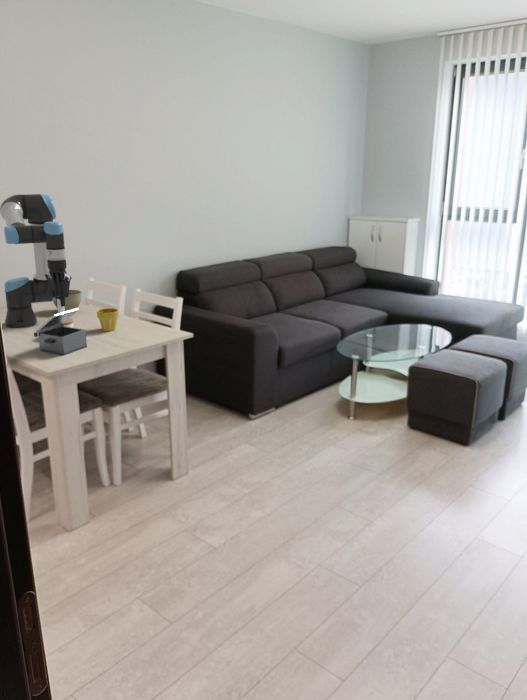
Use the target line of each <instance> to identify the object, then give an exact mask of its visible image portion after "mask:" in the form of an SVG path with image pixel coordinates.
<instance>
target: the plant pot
mask: <svg viewBox="0 0 527 700" xmlns="http://www.w3.org/2000/svg"><path fill="white" fill-rule="evenodd" d="M119 311H120V310H119V309H117V308H115V307H105V308H100V309H99V308H98V309H97V310H96V315H97V318H98V320H99V324H100V327H101V329H102V331H104V332H111V331H112V332H113V331H115V330H116V329H117V325H118V318H119V317H120V312H119Z"/></svg>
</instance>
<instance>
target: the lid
mask: <svg viewBox="0 0 527 700" xmlns="http://www.w3.org/2000/svg"><path fill="white" fill-rule="evenodd" d="M78 311H79V307H78V308H76V309H72V310H69V311H65V312H62V313H58V312H57V313H56V314H53V315H52V316H51V317H50V318H49V319H47V321H45V322H44V323H43V324H42V325H40V327H38V329H36V330H35V332H37V333H40V332H44V331H47V330H50V329H53V328H57V327H60V325H61V324H62V323H64V322H65V321H66V320H67V319H68V318H71V317H72V316H73V315H74V314H76V312H78Z"/></svg>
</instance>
